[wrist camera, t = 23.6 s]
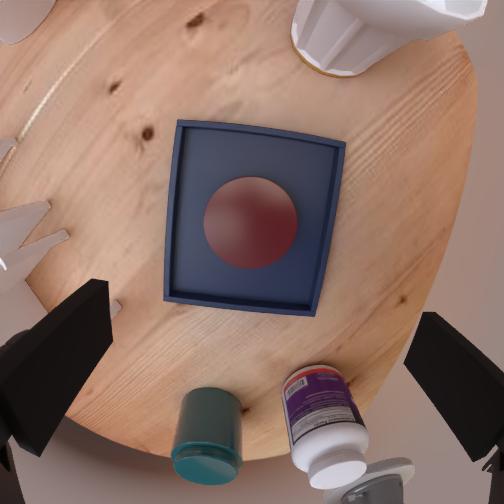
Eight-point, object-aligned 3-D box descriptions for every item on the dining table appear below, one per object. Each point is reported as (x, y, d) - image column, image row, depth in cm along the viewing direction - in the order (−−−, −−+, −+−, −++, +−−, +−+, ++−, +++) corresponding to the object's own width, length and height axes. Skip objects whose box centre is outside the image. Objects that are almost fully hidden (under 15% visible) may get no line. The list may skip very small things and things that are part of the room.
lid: (290, 171, 26) (294, 171, 24) (297, 257, 29) (301, 263, 27) (200, 181, 26) (197, 182, 24) (212, 267, 29) (210, 273, 27)
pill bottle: (334, 405, 35) (363, 488, 21) (276, 407, 35) (289, 498, 21) (349, 359, 33) (393, 446, 19) (285, 360, 32) (306, 459, 19)
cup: (325, -14, 21) (378, -111, 4) (400, 53, 23) (503, -6, 6) (255, 35, 23) (268, -86, 6) (340, 109, 25) (450, 51, 8)
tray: (310, 308, 31) (315, 317, 29) (167, 293, 30) (163, 301, 28) (339, 143, 26) (346, 142, 24) (181, 122, 25) (177, 119, 23)
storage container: (-22, 196, 25) (-78, 210, 15) (15, 138, 24) (-49, 137, 13) (71, 345, 31) (30, 396, 21) (122, 307, 30) (78, 363, 19)
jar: (238, 429, 36) (239, 489, 25) (182, 422, 35) (171, 482, 25) (245, 390, 34) (246, 457, 23) (181, 383, 33) (165, 448, 23)
